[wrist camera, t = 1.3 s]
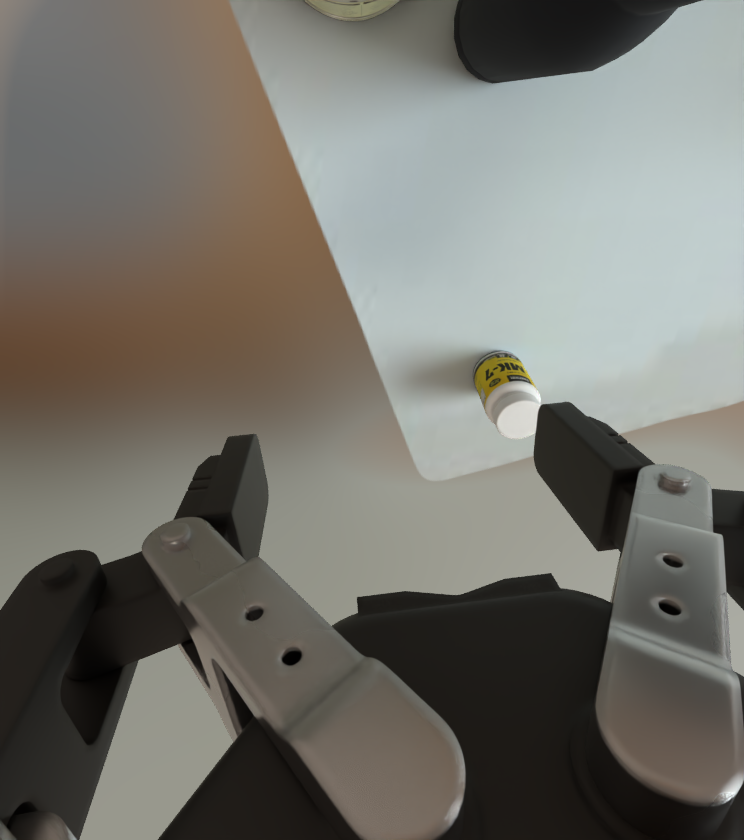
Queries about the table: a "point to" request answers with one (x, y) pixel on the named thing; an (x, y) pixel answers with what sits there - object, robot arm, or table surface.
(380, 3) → the coffee can
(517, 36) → the dark blue water bottle
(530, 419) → the supplement bottle
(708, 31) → the table surface
